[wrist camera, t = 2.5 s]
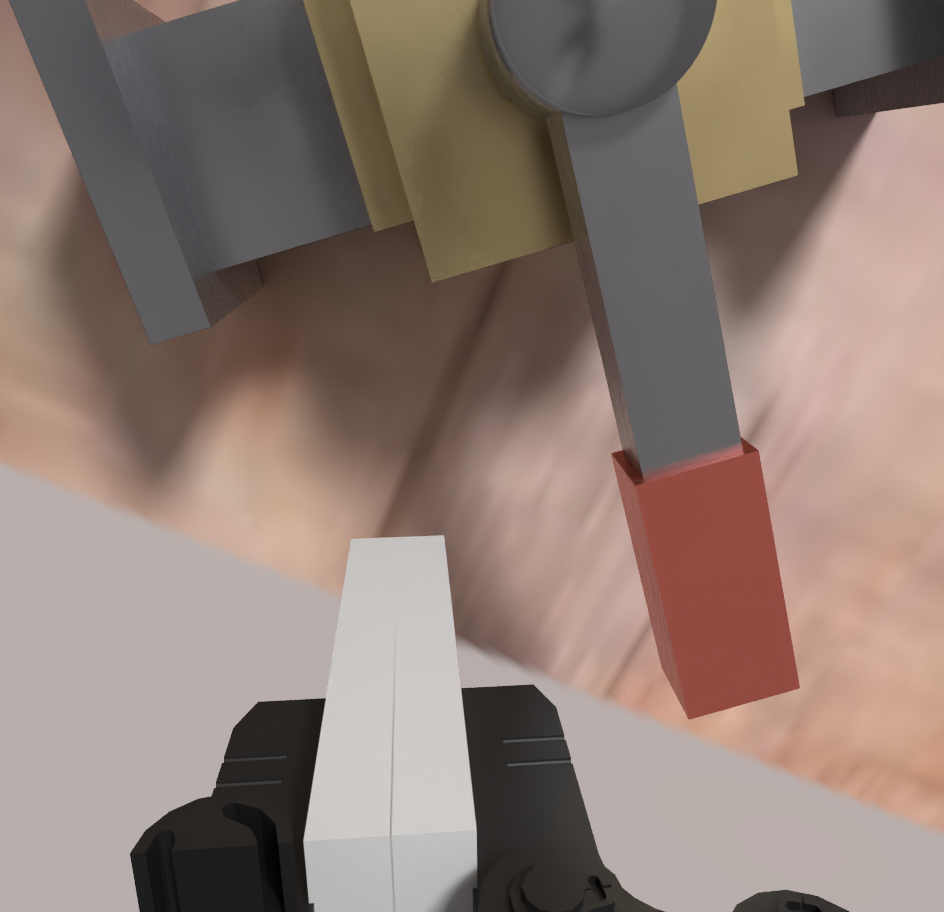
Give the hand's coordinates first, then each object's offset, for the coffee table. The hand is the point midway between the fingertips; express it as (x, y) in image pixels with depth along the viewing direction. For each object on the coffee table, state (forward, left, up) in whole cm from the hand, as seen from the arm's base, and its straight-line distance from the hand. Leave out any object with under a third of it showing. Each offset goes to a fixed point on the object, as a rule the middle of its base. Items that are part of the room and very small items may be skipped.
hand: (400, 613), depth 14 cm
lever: (-3, +6, -3) cm, 7 cm away
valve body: (-8, +6, -10) cm, 14 cm away
